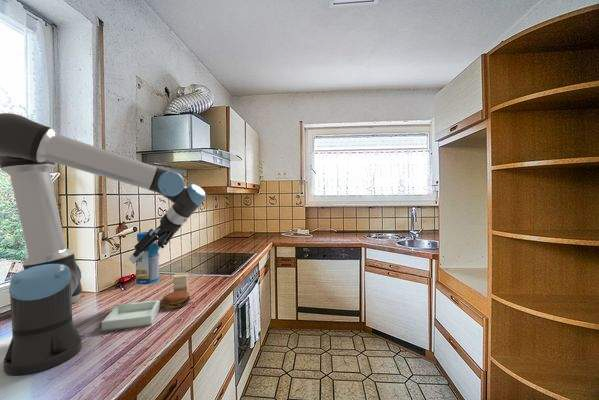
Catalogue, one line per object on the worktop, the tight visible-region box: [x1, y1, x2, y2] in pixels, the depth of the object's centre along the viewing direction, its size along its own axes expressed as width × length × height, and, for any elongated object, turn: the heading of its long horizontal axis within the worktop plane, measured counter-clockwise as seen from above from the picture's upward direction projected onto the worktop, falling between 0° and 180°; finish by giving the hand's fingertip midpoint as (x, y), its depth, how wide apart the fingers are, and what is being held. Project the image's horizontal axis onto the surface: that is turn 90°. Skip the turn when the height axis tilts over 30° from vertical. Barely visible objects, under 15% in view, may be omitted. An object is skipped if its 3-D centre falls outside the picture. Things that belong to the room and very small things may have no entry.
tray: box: [101, 299, 161, 333], centre depth 95 cm, size 14×14×3 cm
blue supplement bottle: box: [134, 231, 160, 287], centre depth 109 cm, size 8×8×20 cm
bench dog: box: [172, 271, 189, 293], centre depth 115 cm, size 5×5×9 cm
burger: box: [161, 290, 191, 310], centre depth 107 cm, size 10×9×5 cm
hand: (140, 258), depth 110 cm, fingers closed on blue supplement bottle, 8 cm apart
